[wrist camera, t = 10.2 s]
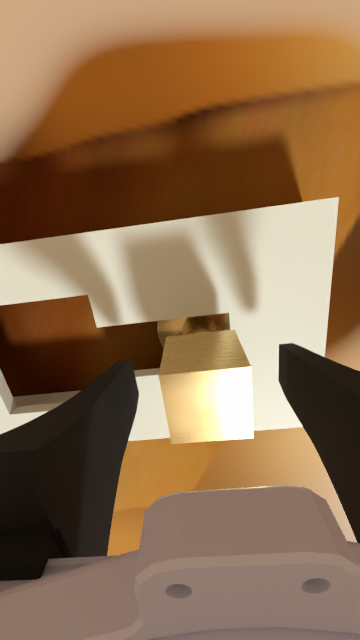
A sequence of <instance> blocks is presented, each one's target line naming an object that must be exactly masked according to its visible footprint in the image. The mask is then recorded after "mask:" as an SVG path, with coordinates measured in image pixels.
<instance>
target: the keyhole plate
mask: <svg viewBox="0 0 360 640" xmlns="http://www.w3.org/2000/svg"><path fill="white" fill-rule="evenodd" d="M338 201H339V197H335V198H328V199H321V200H314V201H307V202H300V203H293V204H285V205H278V206H271V207H264V208H257V209H250V210H242V211H235V212H228V213H221V214H214V215H207V216H200V217H192V218H185V219H178V220H171V221H164V222H157V223H150V224H142V225H135V226H128V227H121V228H114V229H107V230H99V231H92V232H85V233H78V234H71V235H64V236H57V237H49V238H42V239H35V240H28V241H21V242H14V243H6V244H0V305H8V304H16V303H24V302H32V301H40V300H48V299H57V298H65V297H73V296H81V295H88V296H89V300H90V304H91V307H92V311H93V315H94V319H95V322H96V326H97V328H98V327H107V326H115V325H124V324H133V323H142V322H151V321H160V320H169V319H177V318H186V317H195V316H204V315H213V314H222V313H227V318H228V330H235V332H236V334H237V336H238V338H239V341H240V343H241V345H242V347H243V349H244V352H245V354H246V356H247V358H248V361H249V363H250V365H251V377H252V409H253V431H258V430H271V429H284V428H297V427H303V426H302V424H301V422H300V421H299V419H298V418H297V416H296V414H295V413H294V411H293V409H292V408H291V406H290V404H289V403H288V401H287V399H286V397H285V395H284V393H283V390H282V388H281V386H280V383H279V381H278V377H279V344H287V343H294V344H296V345H299V346H301V347H303V348H306V349H308V350H310V351H312V352H314V353H316V354H319V355H321V356H323V357H325V346H326V335H327V325H328V313H329V301H330V291H331V280H332V269H333V257H334V246H335V235H336V224H337V212H338ZM159 370H160V368H154V369H144V370H134V373H135V378H136V382H137V386H138V391H139V398H138V405H137V411H136V415H135V419H134V422H133V425H132V429H131V432H130V436H129V439H128V441H135V440H148V439H160V438H170V434H169V428H168V423H167V418H166V412H165V407H164V402H163V397H162V391H161V386H160V381H159ZM80 391H81V390H79V391H69V392H58V393H48V394H37V395H27V396H16V397H13V396H12V394H11V392H10V390H9V387H8V385H7V383H6V381H5V378H4V376H3V374H2V372H1V370H0V434H2V433H5V432H7V431H9V430H12V429H14V428H16V427H19V426H21V425H23V424H25V423H27V422H29V421H31V420H33V419H35V418H37V417H39V416H41V415H43V414H45V413H46V412H48V411H50V410H52V409H54V408H56V407H57V406H59V405H60V404H62V403H64V402H65V401H67V400H69V399H70V398H72V397H73V396H74V395H76V394H77V393H79V392H80Z"/></svg>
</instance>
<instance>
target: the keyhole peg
mask: <svg viewBox="0 0 360 640" xmlns="http://www.w3.org/2000/svg"><path fill="white" fill-rule="evenodd" d="M157 332H158V337H159V340H160V343H161V345H162V347H163V348H164V350H163V355H162V360H161V365H160V370H159V381H160V386H161V391H162V397H163V402H164V407H165V412H166V418H167V423H168V428H169V434H170V439H171V444H178V443H192V442H205V441H219V440H233V439H246V438H253V409H252V377H251V365H250V363H249V361H248V358H247V356H246V354H245V352H244V349H243V347H242V345H241V343H240V341H239V338H238V336H237V334H236V332H235V330H228V318H227V313H222V314H213V315H204V316H195V317H186V318H177V319H169V320H160V321H158V323H157Z"/></svg>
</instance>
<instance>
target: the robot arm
mask: <svg viewBox="0 0 360 640" xmlns="http://www.w3.org/2000/svg"><path fill="white" fill-rule="evenodd" d="M278 381H279V383H280V386H281V388H282V390H283V393H284V395H285V397H286V399H287V401H288V403H289V404H290V406H291V408H292V409H293V411H294V413H295V414H296V416H297V418H298V419H299V421H300V422H301V424H302V426H303V427H304V429H305V431H306V432H307V434H308V435H309V437H310V439H311V440H312V442H313V444H314V446H315V448H316V450H317V452H318V454H319V456H320V458H321V460H322V462H323V464H324V466H325V468H326V471H327V473H328V475H329V477H330V479H331V482H332V484H333V486H334V488H335V490H336V492H337V494H338V497H339V499H340V502H341V504H342V506H343V509H344V511H345V514H346V516H347V518H348V520H349V523H350V525H351V528H352V530H353V532H354V535H355V537H356V540H357V543H355V542H349V541H346V539H345V537H344V535H343V533H342V531H341V529H340V527H339V525H338V523H337V521H336V519H335V517H334V515H333V513H332V511H331V509H330V508H329V505H328V504H327V501H326V500H325V499H324V498H322V497H320V496H319V495H317V494H316V493H314V492H313V491H311V490H310V489H307V488H304V487H296V486H286V485H275V486H260V487H245V488H230V489H216V490H215V489H214V490H199V491H184V492H178V493H174V494H170V495H166V496H162V497H160V498H159V499H158V500H157V501H155V502H154V503H153V504H152V505H151V506H150V507H149V508H148V509H147V510H145V513H144V520H143V527H142V534H141V541H140V548H139V549H138V550H135V551H131V552H128V553H125V554H121V555H116V556H107V551H108V542H109V535H110V529H111V521H112V514H113V509H114V503H115V497H116V491H117V485H118V480H119V475H120V469H121V464H122V460H123V456H124V452H125V449H126V446H127V442H128V439H129V436H130V432H131V429H132V425H133V422H134V419H135V415H136V411H137V405H138V398H139V391H138V386H137V382H136V378H135V373H134V369H133V364H132V360H122V361H118V362H117V363H116V364H114V365H113V366H112V367H110V368H109V369H108V370H107V371H106V372H104V373H103V374H102V375H101V376H100V377H98V378H97V379H96V380H95V381H93V382H92V383H91V384H89V385H88V386H87V387H85V388H84V389H83V390H81V391H80V392H79V393H77V394H76V395H74V396H73V397H72V398H70V399H69V400H67V401H65V402H64V403H62V404H60V405H59V406H57V407H56V408H54V409H52V410H50V411H48V412H46V413H45V414H43V415H41V416H39V417H37V418H35V419H33V420H31V421H29V422H27V423H25V424H23V425H21V426H19V427H16V428H14V429H12V430H9V431H7V432H5V433H2V434H0V640H360V371H357V370H354V369H352V368H349V367H347V366H344V365H342V364H339V363H337V362H334V361H332V360H330V359H327V358H325V357H323V356H321V355H319V354H316V353H314V352H312V351H310V350H308V349H306V348H303V347H301V346H299V345H296V344H294V343H287V344H279V377H278Z"/></svg>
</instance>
